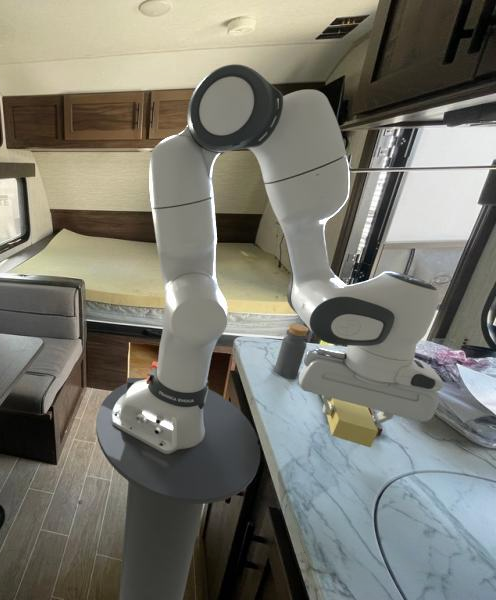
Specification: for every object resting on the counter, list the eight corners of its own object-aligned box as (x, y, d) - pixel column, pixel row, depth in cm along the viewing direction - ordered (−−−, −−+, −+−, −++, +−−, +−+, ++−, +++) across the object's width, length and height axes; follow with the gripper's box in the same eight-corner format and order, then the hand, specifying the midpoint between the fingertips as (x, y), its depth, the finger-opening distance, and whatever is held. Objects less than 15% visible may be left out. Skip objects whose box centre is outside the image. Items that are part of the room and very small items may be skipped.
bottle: (292, 367, 97) (306, 323, 91) (300, 379, 92) (315, 333, 86) (271, 365, 98) (283, 321, 92) (278, 376, 92) (291, 330, 87)
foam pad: (331, 435, 62) (338, 419, 60) (324, 407, 69) (330, 392, 68) (370, 447, 59) (378, 431, 58) (358, 416, 67) (365, 401, 65)
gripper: (310, 353, 60) (290, 411, 65) (457, 387, 52) (420, 450, 57) (307, 338, 65) (288, 393, 70) (439, 367, 57) (407, 426, 62)
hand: (348, 419), depth 64 cm, fingers closed on foam pad, 6 cm apart
